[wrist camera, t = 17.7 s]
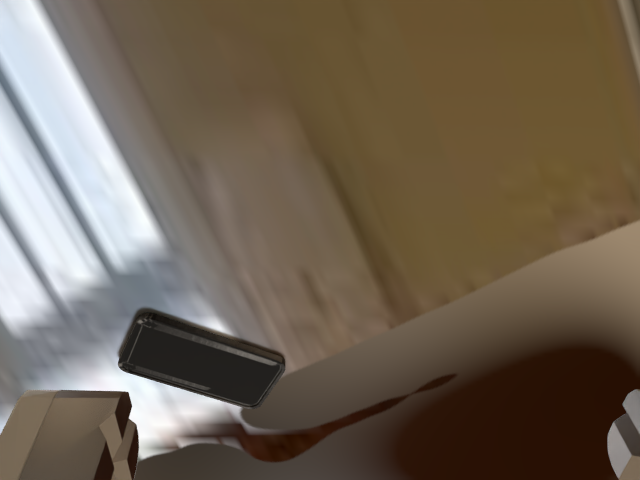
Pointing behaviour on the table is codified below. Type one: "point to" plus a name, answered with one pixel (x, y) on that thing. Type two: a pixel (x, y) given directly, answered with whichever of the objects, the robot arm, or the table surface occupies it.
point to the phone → (200, 361)
